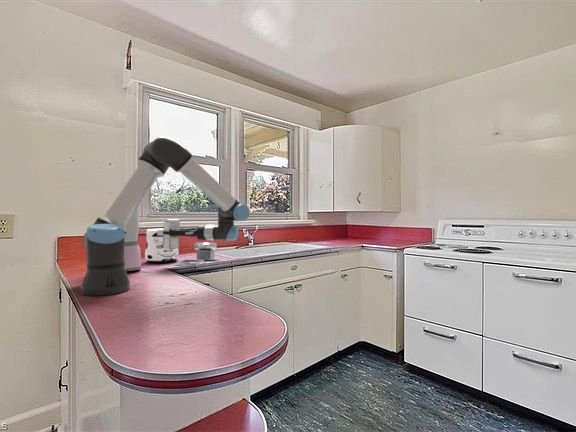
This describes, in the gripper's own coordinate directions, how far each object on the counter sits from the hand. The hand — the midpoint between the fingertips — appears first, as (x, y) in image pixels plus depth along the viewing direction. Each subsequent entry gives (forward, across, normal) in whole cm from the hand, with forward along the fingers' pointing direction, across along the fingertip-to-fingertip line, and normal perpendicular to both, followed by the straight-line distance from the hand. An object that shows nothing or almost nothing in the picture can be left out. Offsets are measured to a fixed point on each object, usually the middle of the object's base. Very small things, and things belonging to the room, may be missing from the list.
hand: (162, 232), depth 158 cm
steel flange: (-10, +11, -18) cm, 23 cm away
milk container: (+9, +17, -18) cm, 26 cm away
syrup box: (-5, 0, -8) cm, 10 cm away
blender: (+12, -13, -18) cm, 25 cm away
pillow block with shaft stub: (-13, +25, -18) cm, 33 cm away
